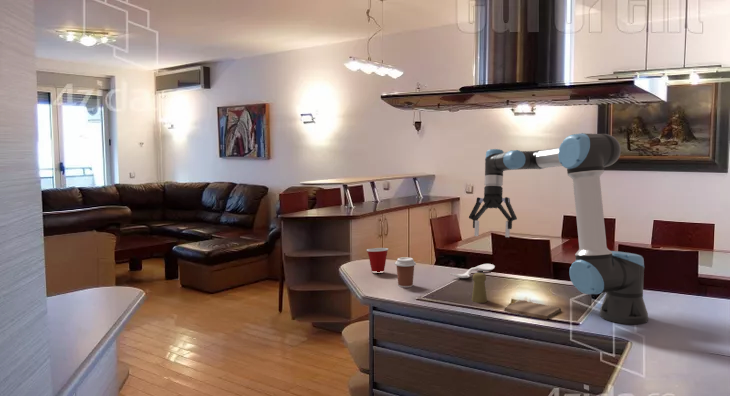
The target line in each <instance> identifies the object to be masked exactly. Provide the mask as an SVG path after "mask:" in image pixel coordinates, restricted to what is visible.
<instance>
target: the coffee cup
mask: <svg viewBox="0 0 730 396" xmlns="http://www.w3.org/2000/svg"><path fill="white" fill-rule="evenodd" d="M394 265H395V266H396V273H397V286H398V287H399V288H411V287H413V286H414V275H415V266H416V265H417V263H416V261H415V260H414V258H412V257H406V256H405V257H402V256H401V257H397V260H396V261H395V262H394Z"/></svg>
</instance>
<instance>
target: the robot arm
mask: <svg viewBox="0 0 730 396" xmlns="http://www.w3.org/2000/svg"><path fill="white" fill-rule="evenodd" d="M621 153H622V147H621V144H620V142H619V140H618V139H617V138H616V137H615V136H613V135H611V134H608V133H585V132H584V133H583V132H581V133H574V134H570V135H567V136H566V137H565V138H564V139H563V140H562V142H561V143H560V145H559V147H552V148H546V149H545V148H544V149H538V150H527V151H526V150H525V151H524V150H518V149H516V150H514V149H513V150H512V149H511V150H508V151H504V150H503V149H500V148H499V149H498V148H490V149H487V150H486V153H485V159H484V187H483V188H484V191H483V196H484V197H476V203H475V204H474V207H473V208H472V210H471V212H470V214H469V217H468V218H469V220H472V228H473V229H474V237H479V234H480V220H479V219H480V218H481V216H482V215H483V214H484V213H485V212H486V211H487V210H488V209H499V211H500V212H501V213H502V214H503V217H505V218H506V220H505V235H504V237H505V238H510V236H511V235H510V231H511V230H512V229H513V221H515V220H517V219H518V218H517V215H516V213H515V211H514V208H513V206H512V203H511V198H510V197H507V196H506V197H503V193H504V192H503V185H504V172H505V171H513V170H515V171H516V170H544V169H547V168H557V167H563V168H565V169H566V171H567V176H568V177H570V178H571V180H572V184H573V185H572V186H573V196H574V204H575V205H574V206H575V207H574V208H575V217H576V226H577V236H578V237H577V238H578V250H577V251H576V253H574V255H575V257H574V258H575V261H573V262H572V264H571V266H570V267H569V272H568V273H569V278H570V282H571V283H572V285H573V286H574V288H576V290H577V291H579V293H582V294H584V295H599V294H604V293H605V296H604V298H603V302H602V304H601V306H600V310H599V316H600V317H601V318H602V319H604V320H606V321H609V322H613V323H618V324H623V325H624V324H626V325H641V324H645V323H647V322H648V320H649V313H648V310H647V308H646V304H645V301H644V277H645V276H644V275H645V273H644V272H645V261H644V257H643V255H641V254H637V253H633V252H632V253H631V252H626V251H625V252H624V251H617V250H610V249H609V248H608V246H607V236H606V226H605V218H604V216H605V215H604V208H603V207H604V206H603V196H602V187H601V186H602V185H601V176H602V174H603V173H604V172H605V168H606V167H610V166H612V165H613V164H615V163H616V162H617V161H618V160H619V158H620V156H621ZM482 203H484V204H483V205H482ZM502 203H505V205H506V208H507V210H508V212H507V210H506V209H505V207H504V206H503V205H502ZM481 205H482V206H481ZM480 207H481V208H480Z"/></svg>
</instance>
